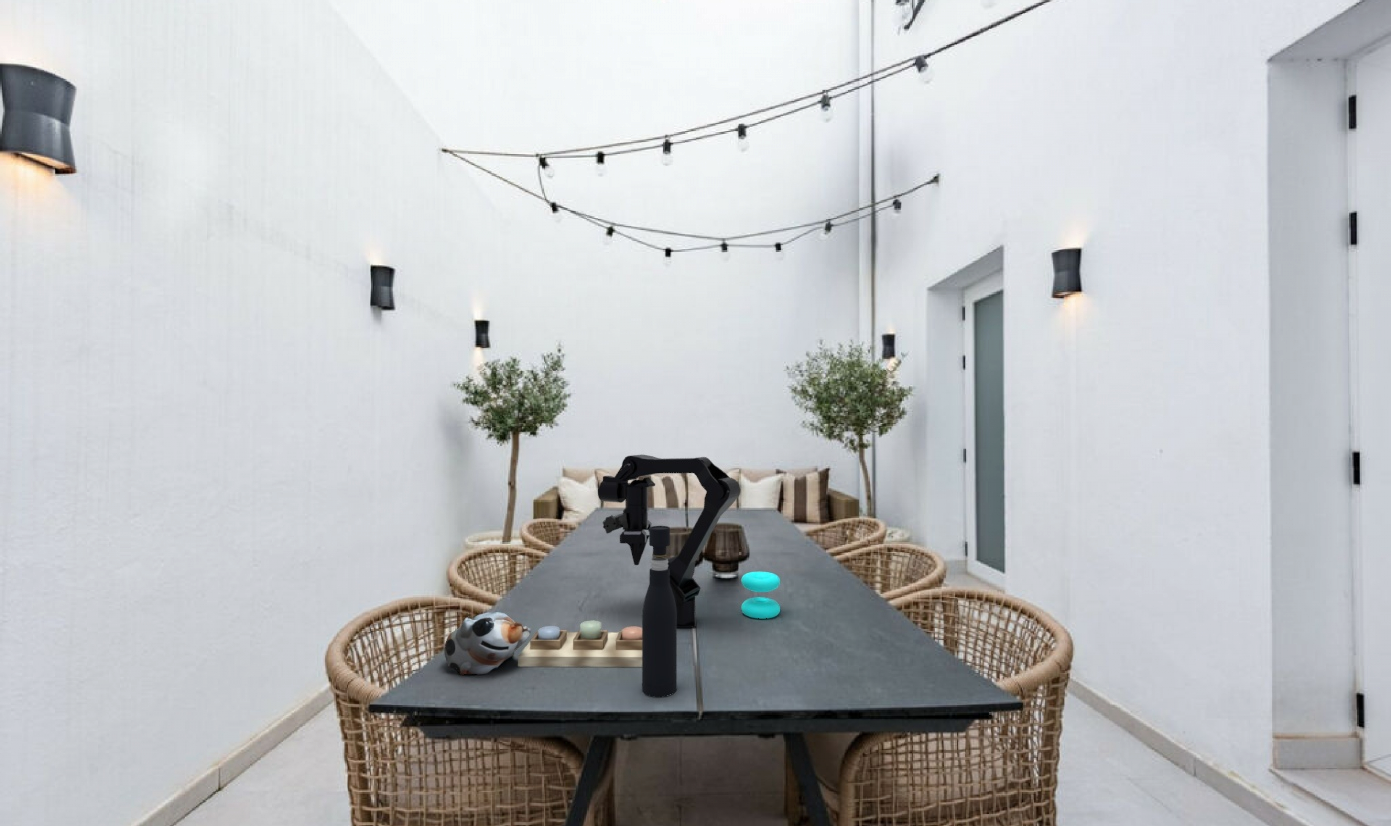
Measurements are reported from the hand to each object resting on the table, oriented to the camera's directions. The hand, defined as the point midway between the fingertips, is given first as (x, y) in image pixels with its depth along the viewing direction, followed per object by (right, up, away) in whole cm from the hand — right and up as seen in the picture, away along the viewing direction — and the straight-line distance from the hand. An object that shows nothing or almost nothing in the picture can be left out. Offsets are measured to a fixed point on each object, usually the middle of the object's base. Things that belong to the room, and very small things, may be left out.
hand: (636, 564), depth 153 cm
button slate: (-16, -10, -25) cm, 31 cm away
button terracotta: (+2, -10, -25) cm, 27 cm away
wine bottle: (+8, -13, -42) cm, 45 cm away
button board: (-7, -13, -25) cm, 29 cm away
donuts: (+32, -13, +1) cm, 35 cm away
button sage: (-7, -9, -25) cm, 28 cm away
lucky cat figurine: (-27, -13, -31) cm, 43 cm away
